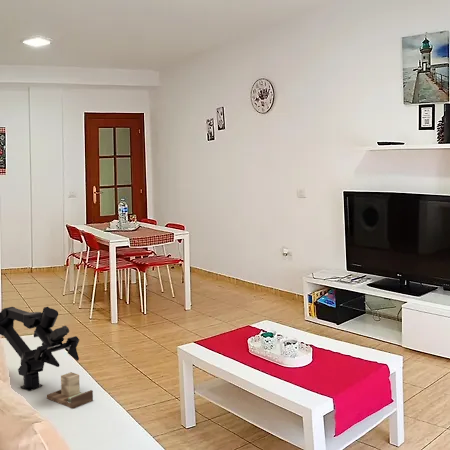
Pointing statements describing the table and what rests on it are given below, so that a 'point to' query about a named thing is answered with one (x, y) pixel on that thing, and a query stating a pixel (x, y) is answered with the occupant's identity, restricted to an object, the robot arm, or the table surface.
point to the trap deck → (71, 398)
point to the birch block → (70, 384)
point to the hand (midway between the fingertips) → (68, 362)
